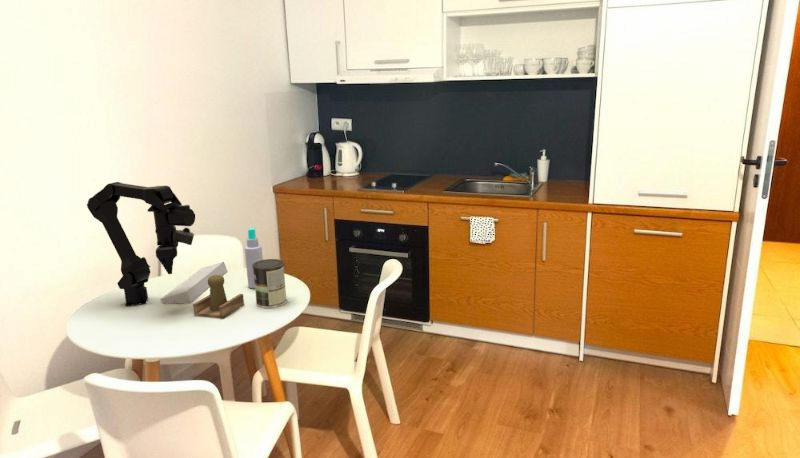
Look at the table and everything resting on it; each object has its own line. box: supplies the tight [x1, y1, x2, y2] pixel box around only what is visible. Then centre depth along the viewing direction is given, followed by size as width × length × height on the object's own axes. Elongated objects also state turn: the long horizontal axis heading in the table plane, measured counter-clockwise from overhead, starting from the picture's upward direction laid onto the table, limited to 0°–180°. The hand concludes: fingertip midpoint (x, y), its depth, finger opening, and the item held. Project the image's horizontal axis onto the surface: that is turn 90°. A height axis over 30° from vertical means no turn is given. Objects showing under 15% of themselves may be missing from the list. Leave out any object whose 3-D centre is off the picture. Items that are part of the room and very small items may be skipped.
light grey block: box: [160, 261, 228, 304], centre depth 211 cm, size 34×5×10 cm
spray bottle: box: [244, 227, 264, 290], centre depth 206 cm, size 6×6×22 cm
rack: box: [192, 293, 245, 320], centre depth 187 cm, size 11×12×4 cm
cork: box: [208, 275, 228, 311], centre depth 186 cm, size 6×6×11 cm
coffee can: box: [252, 258, 288, 309], centre depth 191 cm, size 10×10×14 cm
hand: (170, 270), depth 189 cm, fingers open, 9 cm apart
